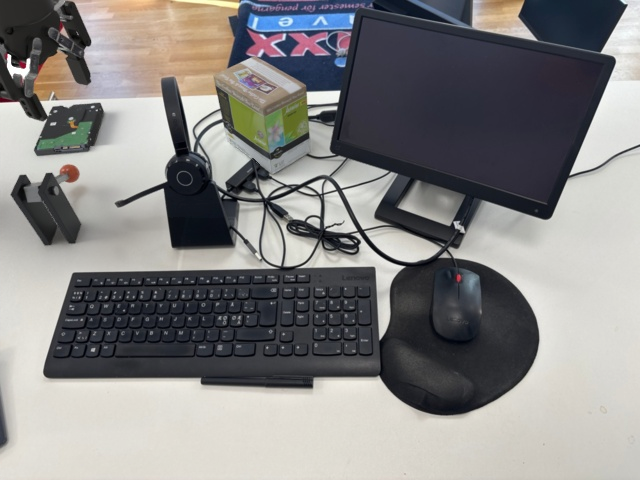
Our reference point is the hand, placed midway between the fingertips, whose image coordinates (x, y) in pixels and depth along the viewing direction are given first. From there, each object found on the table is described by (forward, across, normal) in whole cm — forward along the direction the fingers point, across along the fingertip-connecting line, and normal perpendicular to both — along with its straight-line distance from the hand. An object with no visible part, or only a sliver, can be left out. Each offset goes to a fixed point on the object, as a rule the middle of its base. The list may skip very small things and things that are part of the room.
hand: (63, 100), depth 68 cm
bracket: (+26, +5, -9) cm, 28 cm away
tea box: (+26, -29, +13) cm, 41 cm away
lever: (+19, 0, -11) cm, 22 cm away
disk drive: (+26, -19, -27) cm, 42 cm away
